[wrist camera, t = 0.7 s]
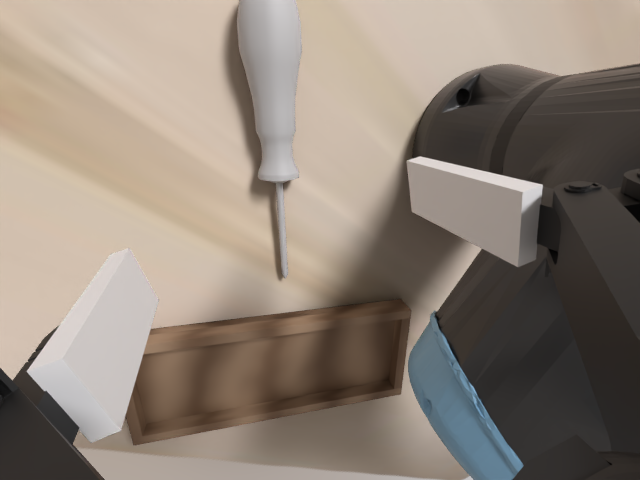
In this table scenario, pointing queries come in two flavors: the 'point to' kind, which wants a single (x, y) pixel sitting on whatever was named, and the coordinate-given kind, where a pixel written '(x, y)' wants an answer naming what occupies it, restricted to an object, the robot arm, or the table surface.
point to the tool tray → (266, 368)
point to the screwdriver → (272, 89)
